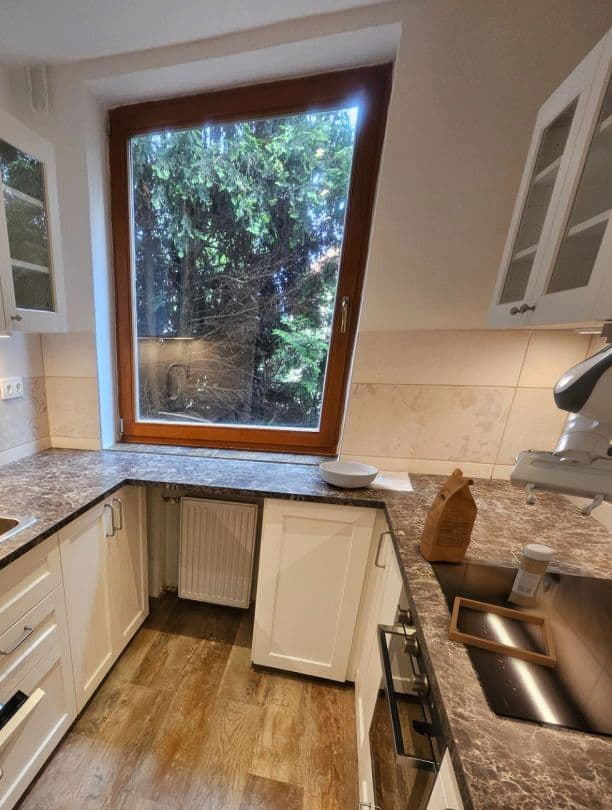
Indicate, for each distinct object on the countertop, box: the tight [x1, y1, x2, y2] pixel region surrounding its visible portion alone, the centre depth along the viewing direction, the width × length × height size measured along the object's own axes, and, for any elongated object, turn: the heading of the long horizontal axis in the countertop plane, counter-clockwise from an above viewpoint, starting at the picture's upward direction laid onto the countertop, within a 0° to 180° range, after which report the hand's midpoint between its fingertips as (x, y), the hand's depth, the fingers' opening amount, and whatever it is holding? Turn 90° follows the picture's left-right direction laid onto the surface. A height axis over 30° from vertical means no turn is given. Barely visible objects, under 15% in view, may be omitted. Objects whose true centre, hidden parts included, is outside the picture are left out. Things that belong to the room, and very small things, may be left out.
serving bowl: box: [318, 460, 379, 489], centre depth 179 cm, size 21×21×7 cm
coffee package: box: [419, 467, 479, 563], centre depth 118 cm, size 10×12×22 cm
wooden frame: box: [447, 596, 558, 669], centre depth 89 cm, size 16×16×3 cm
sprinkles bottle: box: [507, 543, 555, 607], centre depth 97 cm, size 5×5×14 cm
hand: (556, 509), depth 100 cm, fingers open, 8 cm apart
